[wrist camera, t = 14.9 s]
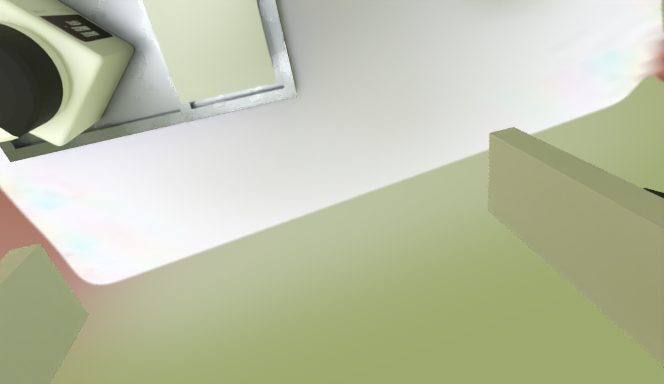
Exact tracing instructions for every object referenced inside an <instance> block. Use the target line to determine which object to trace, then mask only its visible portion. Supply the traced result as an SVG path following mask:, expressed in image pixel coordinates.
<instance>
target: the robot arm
mask: <svg viewBox="0 0 664 384" xmlns="http://www.w3.org/2000/svg"><path fill="white" fill-rule="evenodd" d="M488 211H489V212H490V213H491V214H492V215H493V216H495V217H496V218H497V219H498V220H499V221H500V222H501V223H502V224H503V225H505V226H506V227H507V228H508V229H509V230H510V231H511V232H512V233H513V234H515V235H516V236H517V237H518V238H519V239H520V240H521V241H522V242H523V243H525V244H526V245H527V246H528V247H529V248H530V249H531V250H532V251H534V252H535V253H536V254H537V255H538V256H539V257H540V258H541V259H542V260H544V261H545V262H546V263H547V264H548V265H549V266H550V267H552V269H554V270H555V271H556V272H557V273H558V274H559V275H560V276H561V277H563V278H564V279H565V280H566V281H567V282H568V283H569V284H570V285H571V286H573V287H574V288H575V289H576V290H577V291H578V292H579V293H580V294H582V295H583V296H584V297H585V298H586V299H587V300H588V301H589V302H591V303H592V304H593V305H594V306H595V307H596V308H597V309H598V310H600V311H601V312H602V313H603V314H604V315H605V316H606V317H607V318H608V319H610V320H611V321H612V322H613V323H614V324H615V325H616V326H617V327H618V328H620V329H621V330H622V331H623V332H624V333H625V334H626V335H627V336H629V337H630V338H631V339H632V340H633V341H634V342H635V343H636V344H637V345H639V346H640V347H641V348H642V349H643V350H644V351H645V352H646V353H647V354H649V355H650V356H651V357H652V358H653V359H654V360H655V361H656V362H658V363H659V364H660V365H661V366H662V367H663V368H664V193H662V192H658V191H654V190H651V189H647V188H643V189H642V188H641V187H638V186H636V185H634V184H632V183H630V182H628V181H626V180H624V179H621V178H620V177H617V176H615V175H613V174H611V173H609V172H607V171H605V170H603V169H601V168H598V167H596V166H594V165H592V164H590V163H588V162H586V161H583V160H581V159H579V158H577V157H575V156H573V155H571V154H569V153H567V152H565V151H563V150H560V149H558V148H556V147H554V146H552V145H550V144H548V143H546V142H544V141H542V140H539V139H537V138H535V137H533V136H531V135H529V134H527V133H525V132H523V131H521V130H518V129H516V128H514V127H513V128H508V129H504V130H500V131H496V132H492V133H490V140H489V188H488ZM88 315H89V314H88V312H87V311H86V309H85V308H84V307H83V305H82V304H81V302H80V301H79V299H78V298H77V297H76V295H75V294H74V292H73V291H72V289H71V288H70V287H69V285H68V284H67V282H66V281H65V279H64V278H63V276H62V275H61V274H60V272H59V271H58V269H57V268H56V266H55V265H54V264H53V262H52V261H51V259H50V258H49V256H48V255H47V254H46V252H45V251H44V249H43V248H42V246H41V245H40V244H35V245H31V246H27V247H22V248H19V249H14V250H11V251H10V252H9V253H8V254H7V255H6V256H4V257H3V259H2V260H0V384H51V382H52V380H53V378H54V377H55V375H56V373H57V371H58V369H59V368H60V366H61V364H62V362H63V360H64V359H65V357H66V355H67V353H68V351H69V350H70V348H71V346H72V344H73V342H74V341H75V339H76V337H77V335H78V333H79V332H80V330H81V328H82V326H83V324H84V323H85V321H86V319H87V317H88Z"/></svg>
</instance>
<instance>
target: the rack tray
mask: <svg viewBox="0 0 664 384" xmlns="http://www.w3.org/2000/svg"><path fill="white" fill-rule="evenodd" d="M58 1H60V2H61V3H63V4H64V5H66V6H68V7H69V8H71V9H73V10H74V11H76V12H78V13H79V14H81V15H82V16H84V17H86V18H87V19H89V20H91V21H92V22H94V23H96V24H97V25H99V26H100V27H102V28H104V29H105V30H107V31H109V32H110V33H112V34H114V35H115V36H117V37H118V38H120V39H122V40H123V41H125V42H127V43H128V44H130V45H131V46H132V47H133V48H134V53H133V55H132V57H131V59H130V61H129V63H128V65H127V67H126V69H125V71H124V73H123V75H122V77H121V79H120V81H119V83H118V85H117V87H116V89H115V91H114V93H113V95H112V97H111V99H110V101H109V103H108V105H107V107H106V109H105V111H104V113H103V115H102V117H101V119H100V120H99V121H97V122H96V123H95V124H93V125H92V126H90V127H89V128H87V129H86V130H85V131H83V132H82V133H80V134H79V135H78V136H76V137H75V138H73V139H72V140H70V141H69V142H68V143H66V144H65V145H63V146H56V145H54V144H52V143H50V142H48V141H46V140H44V139H41V138H39V137H37V136H35V135H33V134H31V133H29V132H28V133H26V134H24V135H23V136H21V137H19V138H16V139H13V140H10V141H5V142H0V147H1V148H2V150H3V151H4V153H5V154H6V156H7V157H8V159H9V161H10V162H13V161H17V160H22V159H26V158H30V157H35V156H39V155H44V154H48V153H52V152H57V151H61V150H65V149H70V148H74V147H79V146H83V145H87V144H92V143H96V142H100V141H105V140H109V139H113V138H118V137H122V136H127V135H131V134H135V133H140V132H144V131H148V130H153V129H157V128H162V127H166V126H170V125H175V124H179V123H183V122H188V121H192V120H196V119H201V118H205V117H210V116H214V115H218V114H223V113H227V112H231V111H236V110H240V109H244V108H249V107H253V106H258V105H262V104H266V103H271V102H275V101H279V100H284V99H288V98H293V97H297V92H296V88H295V84H294V79H293V75H292V71H291V66H290V62H289V58H288V53H287V49H286V44H285V40H284V36H283V31H282V27H281V23H280V18H279V14H278V10H277V5H276V1H275V0H256V1H257V5H258V9H259V13H260V17H261V21H262V25H263V29H264V33H265V37H266V41H267V45H268V49H269V53H270V56H271V60H272V64H273V68H274V73H275V77H276V82H277V83H273V84H269V85H264V86H260V87H255V88H251V89H246V90H242V91H238V92H233V93H229V94H224V95H220V96H215V97H211V98H207V99H202V100H198V101H193V102H189V103H184V104H181V101H180V99H179V96H178V93H177V91H176V88H175V86H174V83H173V80H172V78H171V75H170V73H169V70H168V67H167V65H166V62H165V60H164V57H163V54H162V52H161V49H160V46H159V44H158V41H157V39H156V36H155V33H154V31H153V28H152V26H151V23H150V20H149V18H148V15H147V13H146V10H145V7H144V5H143V2H142V0H58Z"/></svg>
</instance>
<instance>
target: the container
mask: <svg viewBox="0 0 664 384" xmlns="http://www.w3.org/2000/svg"><path fill="white" fill-rule="evenodd" d="M133 53H134V48H133V47H132V46H131V45H130V44H128V43H127V42H125V41H123V40H122V39H120V38H118V37H117V36H115V35H114V34H112V33H110V32H109V31H107V30H105V29H104V28H102V27H100V26H99V25H97V24H96V23H94V22H92V21H91V20H89V19H87V18H86V17H84V16H82V15H81V14H79V13H78V12H76V11H74V10H73V9H71V8H69V7H68V6H66V5H64V4H63V3H61V2H60V1H58V0H0V142H5V141H10V140H13V139H16V138H19V137H21V136H23V135H24V134H26V133H28V132H29V133H31V134H33V135H35V136H37V137H39V138H41V139H44V140H46V141H48V142H50V143H52V144H54V145H56V146H63V145H65V144H66V143H68V142H69V141H70V140H72V139H73V138H75V137H76V136H78V135H79V134H80V133H82V132H83V131H85V130H86V129H87V128H89V127H90V126H92V125H93V124H95V123H96V122H97V121H99V120H100V119H101V117H102V115H103V113H104V111H105V109H106V107H107V105H108V103H109V101H110V99H111V97H112V95H113V93H114V91H115V89H116V87H117V85H118V83H119V81H120V79H121V77H122V75H123V73H124V71H125V69H126V67H127V65H128V63H129V61H130V59H131V57H132V55H133Z"/></svg>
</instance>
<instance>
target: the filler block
mask: <svg viewBox="0 0 664 384" xmlns="http://www.w3.org/2000/svg"><path fill="white" fill-rule="evenodd" d="M142 2H143V5H144V7H145V10H146V13H147V15H148V18H149V20H150V23H151V26H152V28H153V31H154V33H155V36H156V39H157V41H158V44H159V46H160V49H161V52H162V54H163V57H164V60H165V62H166V65H167V67H168V70H169V73H170V75H171V78H172V80H173V83H174V86H175V88H176V91H177V93H178V96H179V99H180V101H181V104H184V103H189V102H193V101H198V100H202V99H207V98H211V97H215V96H220V95H224V94H229V93H233V92H238V91H242V90H246V89H251V88H255V87H260V86H264V85H269V84H273V83H277V82H276V77H275V73H274V68H273V64H272V60H271V56H270V53H269V49H268V45H267V41H266V37H265V33H264V29H263V25H262V21H261V17H260V13H259V9H258V5H257V1H256V0H142Z"/></svg>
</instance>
